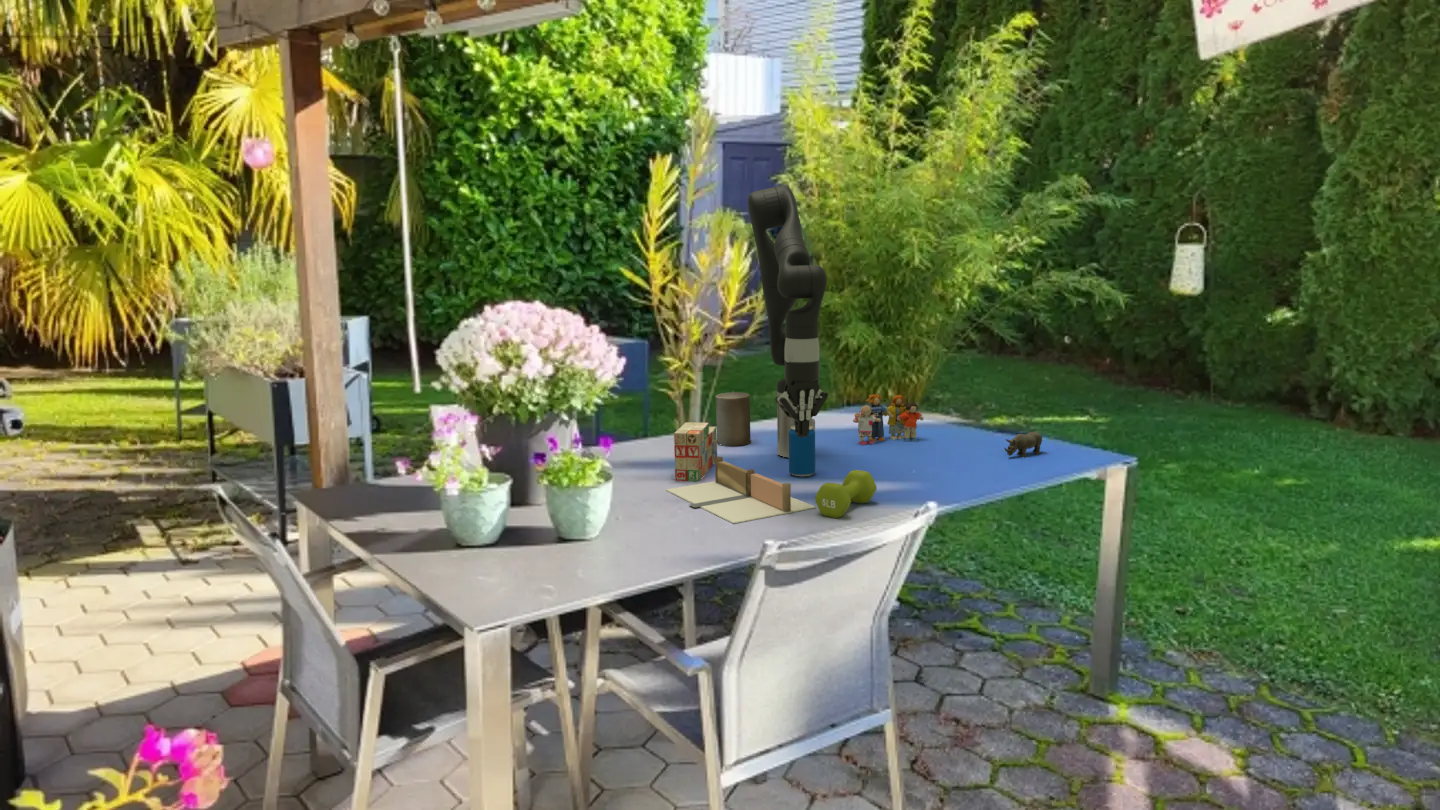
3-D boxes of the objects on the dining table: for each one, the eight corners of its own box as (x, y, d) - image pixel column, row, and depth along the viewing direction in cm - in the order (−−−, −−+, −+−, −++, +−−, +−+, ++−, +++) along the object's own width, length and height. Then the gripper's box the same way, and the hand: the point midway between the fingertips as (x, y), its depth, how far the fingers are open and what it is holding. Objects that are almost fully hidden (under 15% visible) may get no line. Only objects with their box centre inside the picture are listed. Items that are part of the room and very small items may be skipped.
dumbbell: (844, 521, 217) (844, 488, 215) (811, 515, 221) (811, 483, 220) (879, 502, 230) (879, 471, 229) (847, 497, 234) (847, 467, 233)
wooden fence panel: (720, 480, 249) (720, 456, 248) (756, 495, 235) (756, 470, 234) (714, 481, 248) (713, 457, 247) (749, 496, 235) (749, 471, 233)
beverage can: (818, 472, 256) (818, 425, 254) (809, 479, 250) (809, 430, 248) (794, 470, 259) (794, 423, 257) (785, 476, 253) (784, 428, 251)
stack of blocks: (694, 460, 272) (693, 414, 269) (717, 461, 270) (716, 415, 268) (674, 481, 251) (673, 432, 249) (699, 482, 250) (698, 432, 247)
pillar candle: (757, 441, 292) (756, 389, 289) (739, 447, 284) (738, 394, 281) (728, 438, 297) (726, 386, 294) (709, 444, 289) (708, 392, 286)
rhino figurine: (997, 458, 268) (998, 435, 267) (1033, 450, 275) (1034, 428, 274) (1009, 461, 265) (1010, 438, 264) (1046, 453, 272) (1047, 431, 271)
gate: (757, 495, 235) (756, 470, 234) (792, 510, 223) (792, 484, 222) (750, 496, 234) (750, 471, 233) (785, 511, 222) (785, 485, 221)
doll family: (854, 446, 284) (854, 399, 281) (842, 438, 293) (842, 393, 290) (925, 440, 289) (926, 394, 286) (911, 433, 298) (912, 389, 295)
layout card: (742, 477, 252) (742, 476, 252) (815, 508, 226) (815, 506, 226) (660, 491, 241) (660, 490, 241) (726, 525, 215) (726, 523, 215)
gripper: (817, 353, 229) (816, 430, 232) (766, 358, 222) (767, 437, 226) (837, 357, 222) (836, 436, 226) (786, 362, 216) (786, 443, 219)
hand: (802, 436), depth 226 cm, fingers closed
